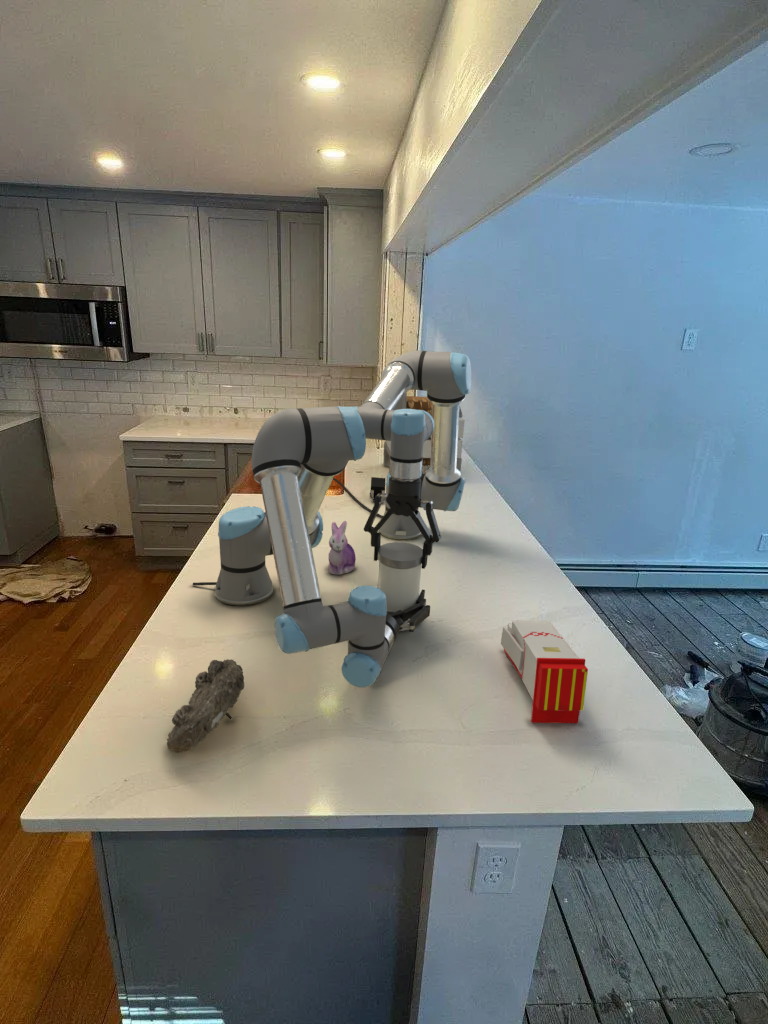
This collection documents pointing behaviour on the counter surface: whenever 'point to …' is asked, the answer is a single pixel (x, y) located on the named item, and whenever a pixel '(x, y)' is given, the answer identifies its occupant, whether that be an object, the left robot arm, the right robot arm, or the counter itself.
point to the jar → (399, 586)
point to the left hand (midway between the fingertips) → (402, 590)
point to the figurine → (340, 551)
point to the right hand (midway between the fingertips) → (400, 562)
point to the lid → (400, 555)
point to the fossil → (206, 705)
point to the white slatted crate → (426, 405)
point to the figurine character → (377, 487)
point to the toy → (547, 670)
